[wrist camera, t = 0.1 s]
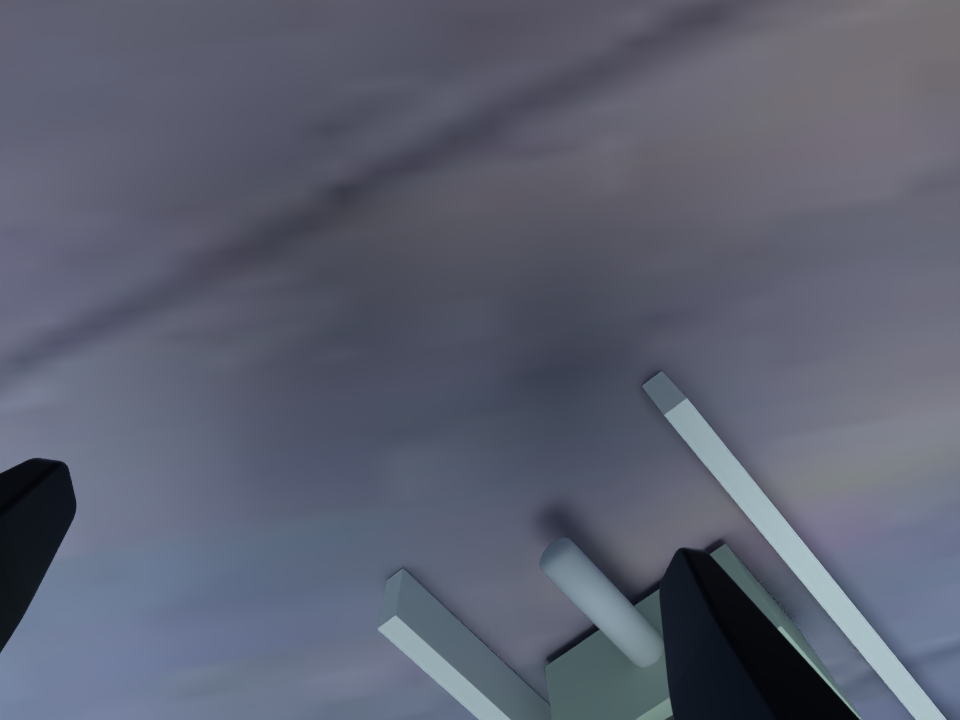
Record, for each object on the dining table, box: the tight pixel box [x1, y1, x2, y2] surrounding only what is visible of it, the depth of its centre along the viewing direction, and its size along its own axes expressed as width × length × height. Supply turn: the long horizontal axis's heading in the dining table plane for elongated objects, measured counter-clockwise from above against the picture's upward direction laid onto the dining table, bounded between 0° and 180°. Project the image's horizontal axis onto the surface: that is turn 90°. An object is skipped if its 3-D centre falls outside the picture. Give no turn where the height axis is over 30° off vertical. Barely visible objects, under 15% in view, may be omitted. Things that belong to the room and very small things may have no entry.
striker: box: [540, 538, 862, 720], centre depth 23 cm, size 10×12×11 cm
